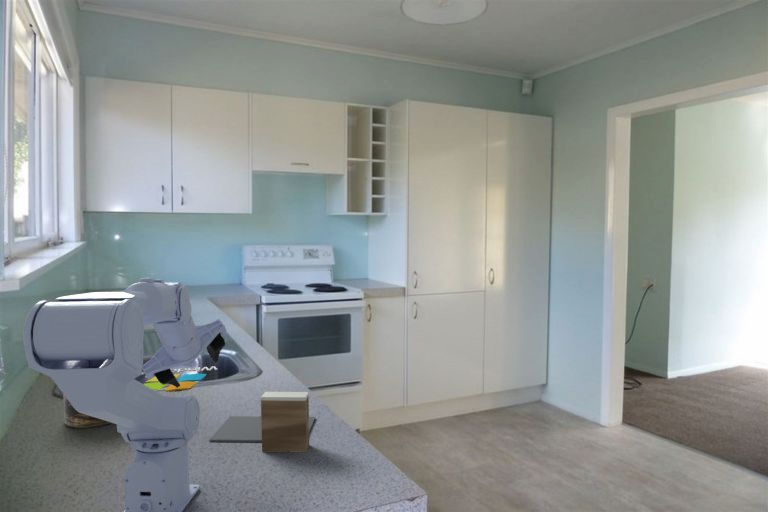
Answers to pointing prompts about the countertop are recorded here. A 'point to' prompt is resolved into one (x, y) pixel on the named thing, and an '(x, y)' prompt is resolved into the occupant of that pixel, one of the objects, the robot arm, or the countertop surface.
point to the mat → (242, 429)
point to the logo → (179, 380)
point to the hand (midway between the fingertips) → (195, 370)
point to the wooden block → (285, 421)
